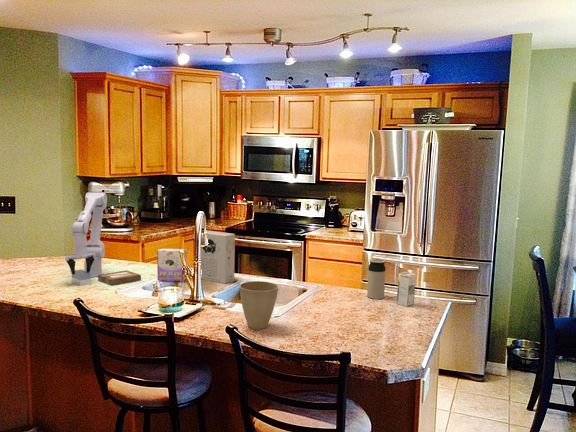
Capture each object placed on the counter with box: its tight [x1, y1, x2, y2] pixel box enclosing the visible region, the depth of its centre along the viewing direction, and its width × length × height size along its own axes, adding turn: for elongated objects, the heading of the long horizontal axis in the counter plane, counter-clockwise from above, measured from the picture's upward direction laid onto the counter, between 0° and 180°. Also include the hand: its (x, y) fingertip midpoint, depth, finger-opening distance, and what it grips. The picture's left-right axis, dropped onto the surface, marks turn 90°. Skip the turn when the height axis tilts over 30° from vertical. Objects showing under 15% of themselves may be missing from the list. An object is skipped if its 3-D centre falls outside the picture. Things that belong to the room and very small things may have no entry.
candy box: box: [156, 248, 187, 283], centre depth 263 cm, size 14×6×16 cm, turn 84°
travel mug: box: [366, 258, 387, 300], centre depth 242 cm, size 8×8×18 cm
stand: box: [97, 270, 142, 286], centre depth 261 cm, size 14×16×3 cm
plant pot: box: [239, 280, 279, 330], centre depth 196 cm, size 15×15×16 cm
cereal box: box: [193, 229, 236, 284], centre depth 268 cm, size 22×8×25 cm, turn 58°
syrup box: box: [396, 271, 417, 307], centre depth 231 cm, size 6×6×14 cm
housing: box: [71, 269, 91, 287], centre depth 253 cm, size 9×5×6 cm, turn 48°
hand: (80, 273), depth 252 cm, fingers open, 7 cm apart
